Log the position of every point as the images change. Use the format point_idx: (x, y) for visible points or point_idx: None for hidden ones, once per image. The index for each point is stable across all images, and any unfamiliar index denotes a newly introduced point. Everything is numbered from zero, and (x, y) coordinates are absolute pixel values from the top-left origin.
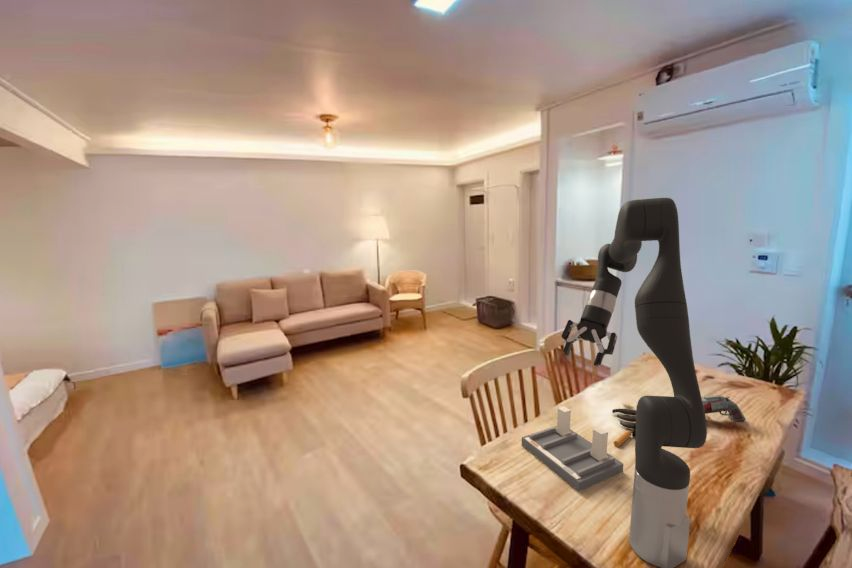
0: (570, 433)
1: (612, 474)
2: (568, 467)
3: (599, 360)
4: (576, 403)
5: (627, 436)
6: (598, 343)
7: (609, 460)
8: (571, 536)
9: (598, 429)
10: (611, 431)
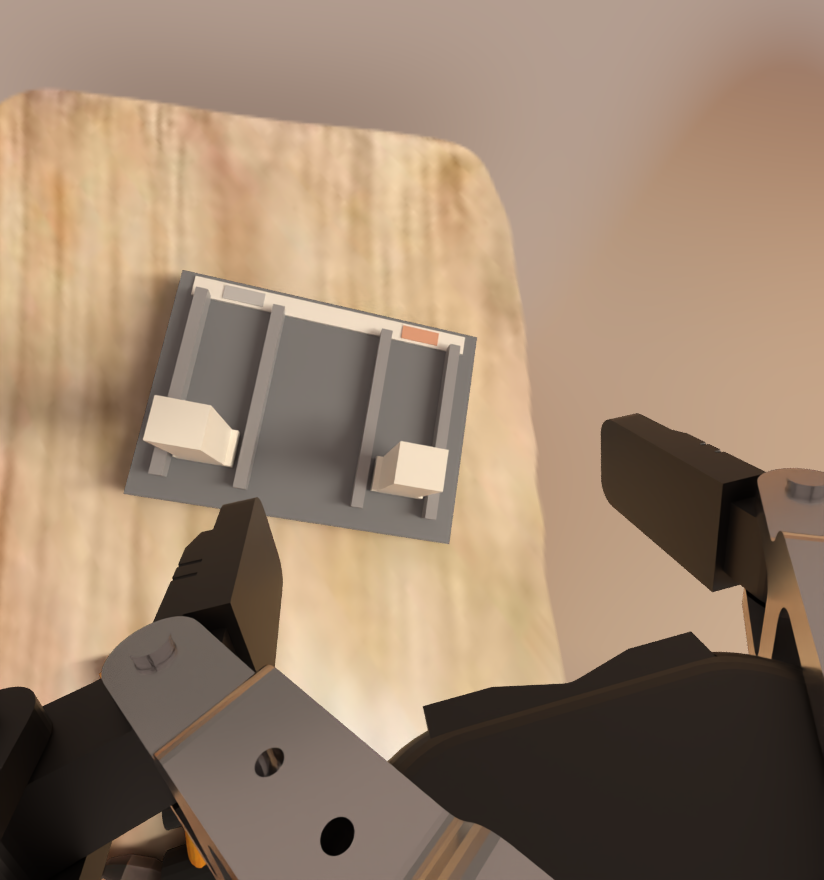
0: (371, 489)
1: None
2: (255, 313)
3: (195, 562)
4: None
5: None
6: (219, 710)
7: None
8: (103, 119)
9: (190, 425)
10: None
